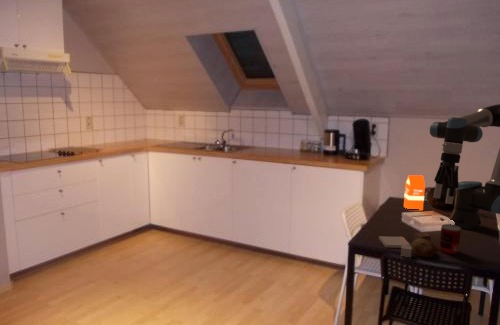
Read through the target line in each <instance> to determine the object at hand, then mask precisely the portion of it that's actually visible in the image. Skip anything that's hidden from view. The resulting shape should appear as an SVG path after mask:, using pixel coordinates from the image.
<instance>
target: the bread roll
mask: <svg viewBox="0 0 500 325" xmlns="http://www.w3.org/2000/svg"><path fill="white" fill-rule="evenodd" d="M410 245H411V246H412V251H411V254H414V255H416V256H417V257H422V258H429V257H434V256H435V254H436V251H437V250H436V246H435V245H434V244H433V242H432V241H431V242H430V241H429V240H426V239H421V238H420V239H416V240H414V239H413V241H412V242H411V244H410Z"/></svg>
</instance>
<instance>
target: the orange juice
mask: <svg viewBox="0 0 500 325" xmlns="http://www.w3.org/2000/svg"><path fill="white" fill-rule="evenodd" d="M425 189H426V182H425V177H424V175H421V174H419V175H416V174H412V175H411V174H408V175H407V179H406V181H405V188H404V197H403V198H404V199H403V208H405V209H406V208H407V209H419V210H418V211H423V210H424V202H425V193H426V192H425ZM407 209H406V210H407Z"/></svg>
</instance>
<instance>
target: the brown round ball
mask: <svg viewBox="0 0 500 325" xmlns="http://www.w3.org/2000/svg"><path fill="white" fill-rule="evenodd" d="M420 238H421V239H426V240H429V241H430V242H432V236H431V235H430V234H428V233H426V232H424V231H423V232H414V235H413V241H414V240H416V239H420Z"/></svg>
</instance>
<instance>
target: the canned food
mask: <svg viewBox="0 0 500 325" xmlns="http://www.w3.org/2000/svg"><path fill="white" fill-rule="evenodd" d="M461 232H462V228H460V227H459V226H456V225H451V224H449V223H445V224H442V225H441V228H440V237H439V247H438V248H439V251H440V252H441V253H444V254H448V255H456V254H458V253H459V248H460V240H461Z"/></svg>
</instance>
